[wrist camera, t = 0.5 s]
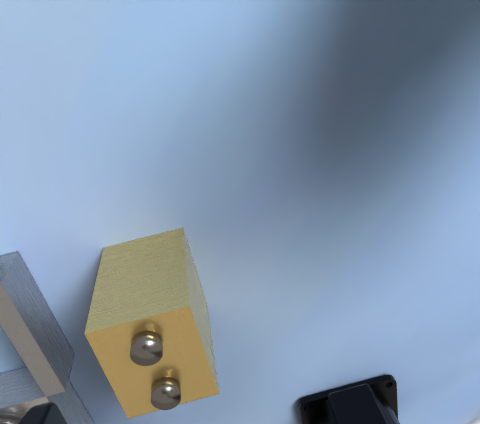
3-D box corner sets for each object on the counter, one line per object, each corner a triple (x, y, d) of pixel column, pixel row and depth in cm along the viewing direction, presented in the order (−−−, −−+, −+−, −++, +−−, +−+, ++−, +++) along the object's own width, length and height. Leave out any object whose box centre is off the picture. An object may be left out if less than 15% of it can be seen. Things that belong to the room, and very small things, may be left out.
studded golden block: (206, 303, 24) (220, 405, 18) (135, 322, 24) (126, 431, 18) (183, 227, 22) (190, 316, 16) (103, 247, 22) (81, 345, 16)
